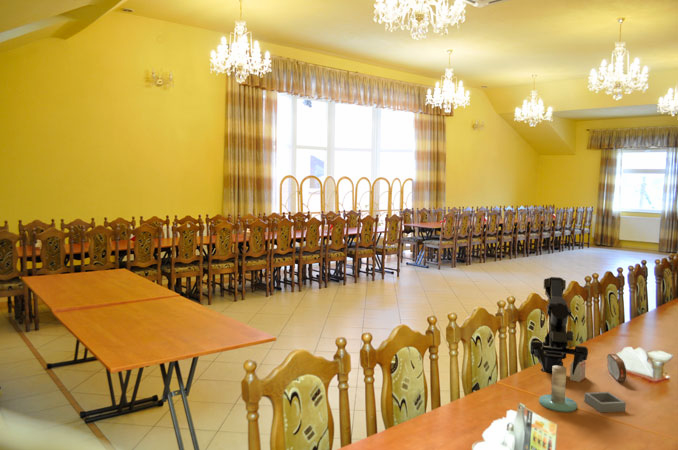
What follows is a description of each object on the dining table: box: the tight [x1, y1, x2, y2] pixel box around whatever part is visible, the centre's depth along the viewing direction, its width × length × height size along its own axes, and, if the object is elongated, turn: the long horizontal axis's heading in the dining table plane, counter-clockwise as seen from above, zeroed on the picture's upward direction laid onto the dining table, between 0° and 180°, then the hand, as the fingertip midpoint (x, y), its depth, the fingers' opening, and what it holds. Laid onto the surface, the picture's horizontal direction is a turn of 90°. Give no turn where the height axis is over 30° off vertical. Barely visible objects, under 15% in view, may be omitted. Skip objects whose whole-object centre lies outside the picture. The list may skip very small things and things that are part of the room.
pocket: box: [583, 391, 627, 413], centre depth 173 cm, size 9×9×3 cm
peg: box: [550, 365, 567, 404], centre depth 174 cm, size 4×4×12 cm
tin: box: [606, 353, 627, 382], centre depth 200 cm, size 15×3×8 cm, turn 168°
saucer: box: [538, 394, 578, 413], centre depth 174 cm, size 12×12×1 cm
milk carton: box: [569, 360, 587, 383], centre depth 198 cm, size 4×7×10 cm, turn 138°
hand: (558, 372), depth 176 cm, fingers open, 9 cm apart
